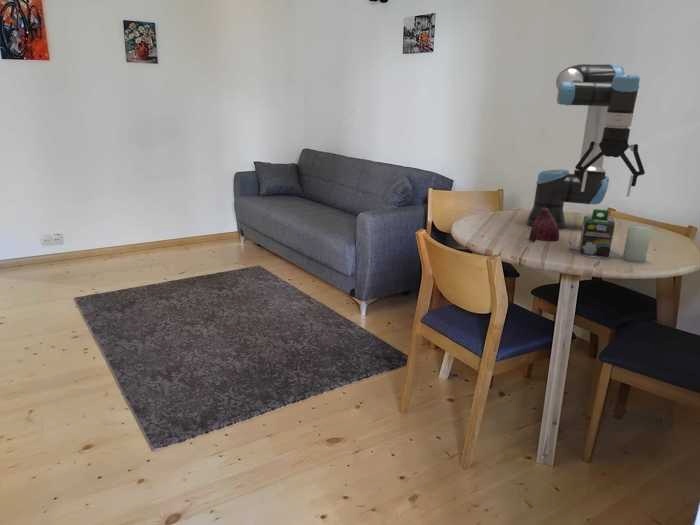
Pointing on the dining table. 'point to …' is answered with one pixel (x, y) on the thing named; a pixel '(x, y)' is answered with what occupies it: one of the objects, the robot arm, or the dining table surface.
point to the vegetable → (544, 227)
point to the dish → (611, 256)
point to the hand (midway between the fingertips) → (604, 193)
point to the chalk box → (597, 234)
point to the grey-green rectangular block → (637, 243)
